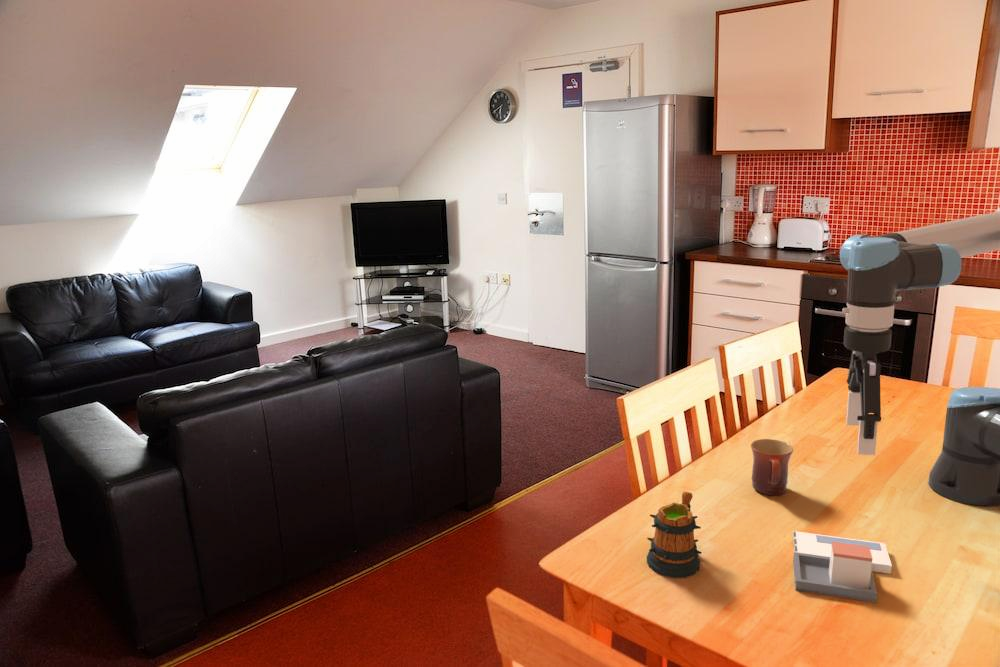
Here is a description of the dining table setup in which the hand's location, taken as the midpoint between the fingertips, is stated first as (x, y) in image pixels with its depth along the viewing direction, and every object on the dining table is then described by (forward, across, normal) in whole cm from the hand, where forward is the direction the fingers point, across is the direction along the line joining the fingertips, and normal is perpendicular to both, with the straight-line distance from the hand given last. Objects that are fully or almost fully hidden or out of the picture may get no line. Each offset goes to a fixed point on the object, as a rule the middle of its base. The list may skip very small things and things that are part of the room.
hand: (859, 438), depth 136 cm
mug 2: (+22, -19, -14) cm, 32 cm away
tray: (+22, +13, -5) cm, 26 cm away
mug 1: (+21, +13, -32) cm, 40 cm away
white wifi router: (+22, +4, -3) cm, 22 cm away
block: (+21, +14, -2) cm, 25 cm away
